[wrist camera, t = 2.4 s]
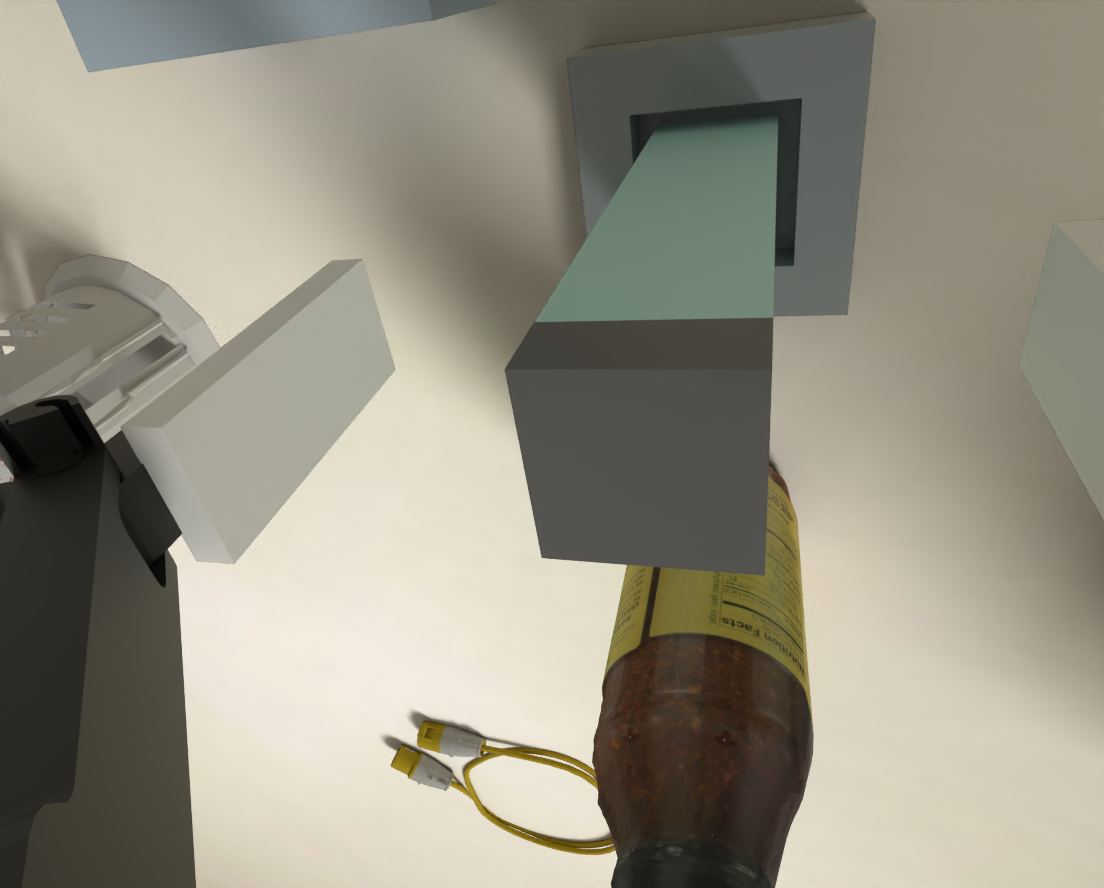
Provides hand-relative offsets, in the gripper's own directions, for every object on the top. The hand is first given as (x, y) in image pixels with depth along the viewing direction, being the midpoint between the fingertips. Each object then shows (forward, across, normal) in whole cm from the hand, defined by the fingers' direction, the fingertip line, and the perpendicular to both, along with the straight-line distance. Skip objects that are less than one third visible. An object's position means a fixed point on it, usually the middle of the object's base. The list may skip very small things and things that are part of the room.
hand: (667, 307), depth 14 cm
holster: (+11, 0, 0) cm, 11 cm away
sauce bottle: (+11, 0, +13) cm, 17 cm away
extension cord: (+11, +13, +38) cm, 42 cm away
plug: (+10, 0, 0) cm, 10 cm away
